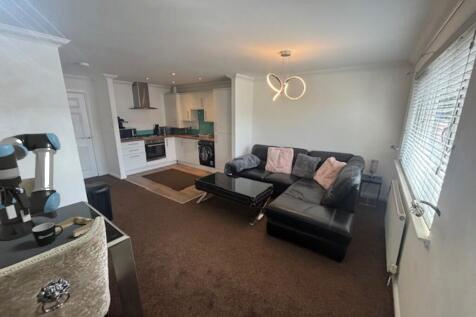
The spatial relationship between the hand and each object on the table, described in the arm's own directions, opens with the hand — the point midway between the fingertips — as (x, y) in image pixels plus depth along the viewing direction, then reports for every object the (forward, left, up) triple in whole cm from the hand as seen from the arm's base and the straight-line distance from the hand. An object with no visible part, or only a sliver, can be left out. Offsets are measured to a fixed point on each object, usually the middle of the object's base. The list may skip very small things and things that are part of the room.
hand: (19, 219), depth 98 cm
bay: (+1, +23, -20) cm, 30 cm away
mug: (0, +10, -20) cm, 22 cm away
